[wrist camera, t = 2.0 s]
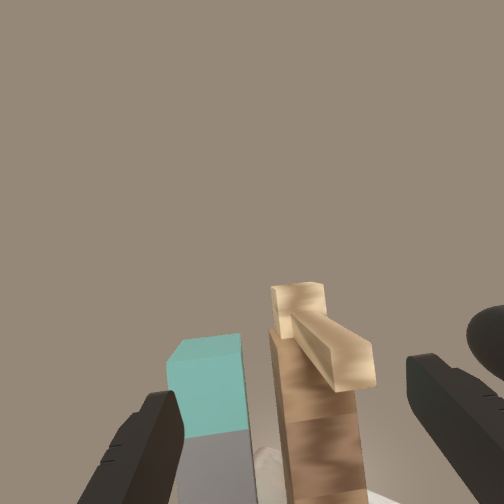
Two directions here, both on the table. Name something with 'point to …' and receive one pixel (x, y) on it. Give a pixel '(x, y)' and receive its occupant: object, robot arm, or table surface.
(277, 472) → the table surface
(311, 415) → the walnut tower
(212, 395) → the gray teal square column
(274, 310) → the beige stepped block
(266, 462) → the table surface
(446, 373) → the robot arm
